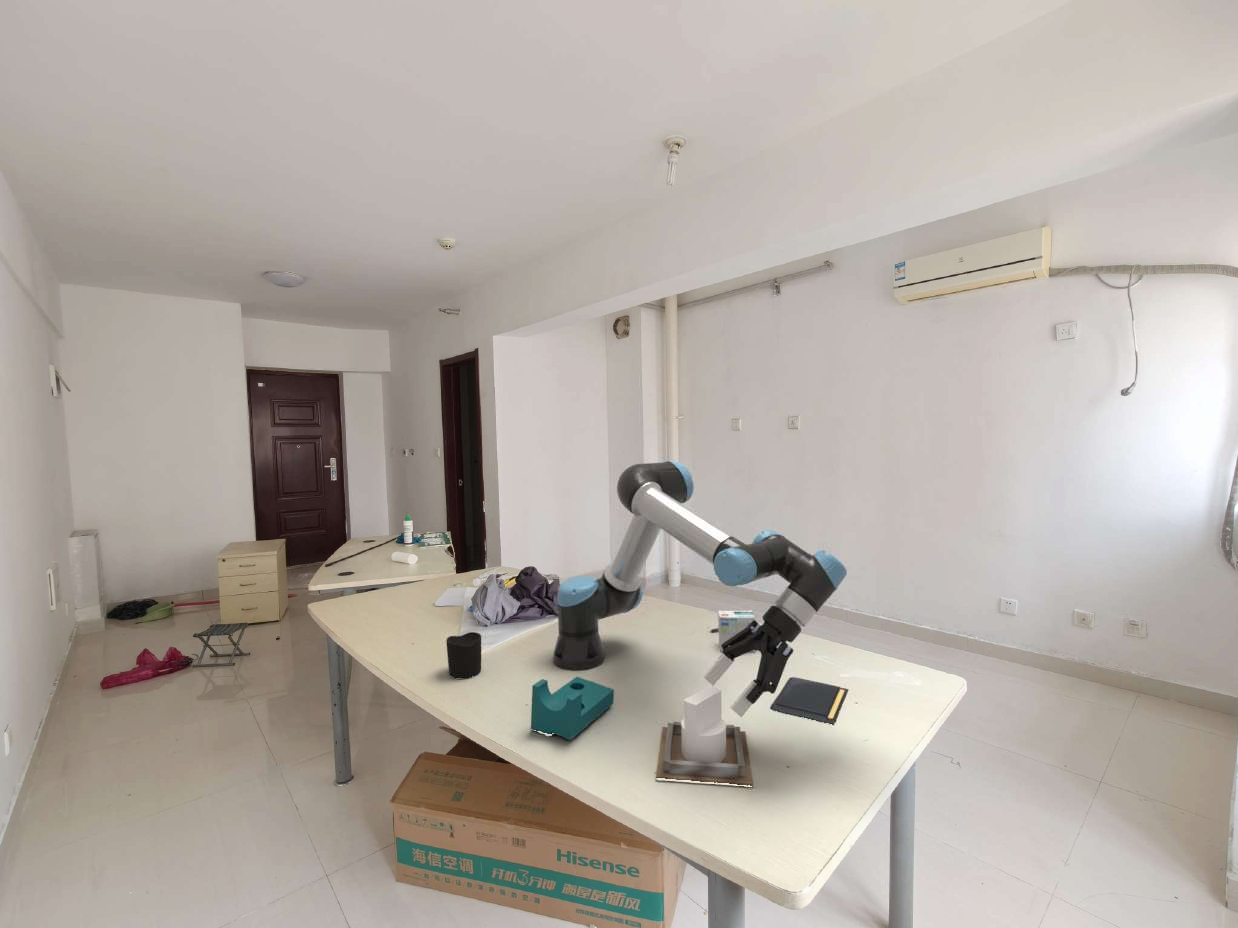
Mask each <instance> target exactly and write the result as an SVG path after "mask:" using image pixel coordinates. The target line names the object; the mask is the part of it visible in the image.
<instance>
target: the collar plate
mask: <svg viewBox="0 0 1238 928" xmlns="http://www.w3.org/2000/svg"><path fill="white" fill-rule="evenodd" d="M658 751H659V752H658V758H657V765H656V773H655V779H656V778H665V779H676V780H691V781H700V782H714V783H716V782H717V783H729V784H737V785H747V786H748V785H750V786H753V787H754V782H753V776H752V775H753V774H752V768H751V761H750V754H749V746H748V740H747V733H746V731H741V726H735V725H734V724H726V757H725V759H724V760H723V761H722V762H720V763H711V762H696V761H688V760H686V759H685V758H684V757H683V755H682V739H681V721H673V722H667V725H666V726H662V729H661V736H660V744H659V750H658Z"/></svg>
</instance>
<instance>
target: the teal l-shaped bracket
mask: <svg viewBox="0 0 1238 928" xmlns="http://www.w3.org/2000/svg"><path fill="white" fill-rule="evenodd" d="M548 682H549V681H548V680H547V679H544V678H541V679H540V680H538V681H537V682H535V683H534V684H533V685H532V690H531V691H532V692H531V711H530V712H531V714H530V730H531V729H533V730H536V731H541V732H543V733H547V734H552V733H555V734H554V735H558V736H560V737H563V738H564V739H567V740H570V741H572V740H573V739H574V738H575V737H576V736H577V735H579V733H581V732H582V731H583V730H585V728H586V727H588V726H589V725H591V723H592V722H593V721H595V720H596V719H597V718H599V717H600V716H601V715H602V714H603V713H604V712H606V711H607V710H608V709H609V708H610V707H611V706H612V705H613V704H614V697H615V696H614V695H615V689H614V688H611V687H608V686H605V685H603V684H600V683H596V682H593V681H591V680H587V679H585V678H583V677H579V676H575V677H574V678H573V679H572V680H570V681H568V682H567V683H566V684H564V685H563V686H561V687H560V688H558V689H557V690H556V691H554V692H553V693H551V691H550V688H549V685H548V684H549V683H548ZM533 730H532V731H533Z"/></svg>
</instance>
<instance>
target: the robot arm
mask: <svg viewBox="0 0 1238 928" xmlns="http://www.w3.org/2000/svg"><path fill="white" fill-rule="evenodd" d="M694 489H695V488H694V480H693V476H692V473H691V472H690V470H689V468H687V466H686V465H684V463H681V462H679V461H670V460H667V461H663V462H651V463H650V462H648V463H636V464H632V465H630V466H629V467H627V468H625V469H624V470H623V472H622V473H621V474H620V476H619V478H618V481H617V485H616V493H617V497H618V499H619V501H620V503H621V504H622V505H623V507H624V508H625V509H626V510H627V511H628V512H629V513H631V514H632V515H633V516H632V519H631V520H630V523H629V525H628V528H627V530H626V532H625V535H624V538H623V539H622V541H621V544H620V547H619V548H618V551H617V553H616V556H615V558H614V560H613V563H611V564H608V565H606V567H605V568H604V570H603V573H602V575H601V577H600V578H595V576H590V575H589V576H588V575H582V576H574V577H571V578H568V579H565V580H564V581H562V582H561V583H560V584H559V586H558V588H557V598H556V602H557V617H558V618H557V619H558V620H557V621H558V622H557V623H558V636H557V640H556V642H555V646H554V650H553V657H552V658H553V664H555V665H556V666H557V667H559V668H560V669H561V668H562V669H565V670H573V671H574V670H575V671H579V670H580V671H581V670H582V671H583V670H587V669H591V668H592V669H593V668H595V667H596V668H597V667H598V666H600V665H601V664H603V663H604V662H605V660H606V650H605V647H604V643H603V641H602V638H601V636H600V633H599V632H600V631H599V620H603V619H606V618H609V617H613V616H616V615H620V614H621V615H622V614H626V613H628V612H630V611H632V610H634V609H636V608H637V607H638V606H639V605H640V603H641V601H642V599H643V595H644V594H643V591H642V590H643V585H642V580H641V577H640V575H641V572H642V571H643V567H644V565H645V564H646V562H647V559H648V557H649V555H650V554H651V551H652V548H653V546H654V545H655V542H656V540H657V538H658V535H660V532H661V531H662V530H663V531H664V532H665V533H667V534H668V535H670V536H671V537H672V538H674V539H675V540H677V541H679V542H680V543H681V544H683V545H684V546H685V547H687V548H688V549H689V550H691V551H692V552H693V553H696V554H697V555H698V556H700V557H701V558H702V559H704V560H705V561H707V562H709V563H710V564H712V566H713V569H714V570H713V571H714V574H715V575H716V576H717V579H718V580H719V582H721V584H723V585H725V586H728V587H736V586H744V585H747V584H751V583H752V582H755V581H758V580H761V579H764V578H769V577H771V576H775V575H777V576H779V577H781V578H782V579H784V580H785V581H786V582H788V583H789V584H788V586H787V587H785V589H784V590H783V591H782V592H781V594H780V595H779V596H778V597H777V598H776V599H775V601H774V604H775V605H774V604H773V605H771V606H770V607H769V608H768V610H766V611H765V613H764V614H763V615H762V620H763V624H760V623H759V622H757V620H756V619H755V620H754V621H752V622H751V623H750V624H749V625H748V626H747V627H746V628H745V629H743V630H742V631H740V632H739V633H737V634H736V635H735V636H733V637H732V638H730V639H729V640H727V641H726V642H724V643H723V644H722V645H721V647H722V648H723V651H722V654H721V655H720V656H719V657H718V659H717V660H716V661H715V663H714V664H713V665H712V666H711V668H710V669H709V670H708V671H707V672H706V673H705V675H703V678H704V679H705V680H706V681H707V682H708V683H710V685H711V686H713V687H715V685H716V683H718V681H719V680H720V679H721V678H722V677H723V676H724V674H725V673H726V672H727V670H728V669H729V668H730V667H731V665H732V664H733V662H735V659H736V658H738V657H741V656H744V655H746V654H748V653H751V652H750V651H753V650H755V652H756V651H758V652H760V655H761V657H760V660H759V666H758V670H757V675H756V679H753V680H751V682H750V683H749V684H748V685H747V687H745V689H744V690H743V691H742V693H740V695H739V696H738V698H737V699H736V700H735V701H733V704H731V706H730V707H729V708H730V709H731V710H732V711H733V712H734V713H735V714H737V716H739V718H743V716H745V714H746V712H748V711H749V709H750V708H751V706H752V705H754V704H756V702H757V701H758V700H759V699H760V697H761V696H762V695H763V694H764V693H770V694H772V695H773V694H775V693H776V691H777V688H778V686H779V683H780V680H781V678H782V675H783V673H784V671H785V668H786V665H787V662H788V661H789V659H790V657H791V656H792V655H793V653H794V649H793V647H792V646H790V645H789V644H788V643H793V642H794V641H795V640H796V638H797V637H798V636H799V634H801V633H802V628H801V627H806V626H807V624H808V623H809V622H810V621H811V619H812V618H813V617H814V616H815V615H816V614H817V613H818V612H819V610H820V609H821V608H822V606H823V605H825V603H826V602H827V600H828V599H829V598H830V597H831V596H832V595H834V593H835V592H836V591H837V590H838V587H839V586H840V585H841V584H842V582H843V580H844V579H845V578H846V577H847V574H848V573H847V572H848V571H847V569H846V566H845V565H844V563H842V562H841V561H840V560H839V559H838V558H836V557H835V555H833V554H831V553H829V551H828V552H826V551H825V550H821V549H819V550H817V551H816V552H815V553H814V554H811V553H808V552H807V551H806V550H803V549H802V548H800V547H799V546H798V545H796V544H795V543H794V542H792V541H791V540H789V539H788V538H786V537H785V536H784V535H782V534H781V533H778V532H776V531H774V530H772V529H769V528H768V529H764V530H763V531H761V533H758V534H757V535H756V536H755V537H754V539H753V540H752V543H749V544H746V543H745V542H743V541H741V540H739V539H738V538H736V537H734V536H732V535H731V534H729V533H728V532H726V531H725V530H723V529H721V528H720V527H719V526H717V525H716V524H714V523H713V522H711V521H709V520H708V519H707V518H704V517H703V516H701V515H699V514H698V513H696V512H695V511H694V510H692V509H691V508H690V507H687V506H686V505H684V503H686V502H688V501H689V500H690V499H691V498H692V495H693V493H694ZM661 529H662V530H661ZM751 631H752V632H751ZM787 642H788V643H787Z"/></svg>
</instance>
